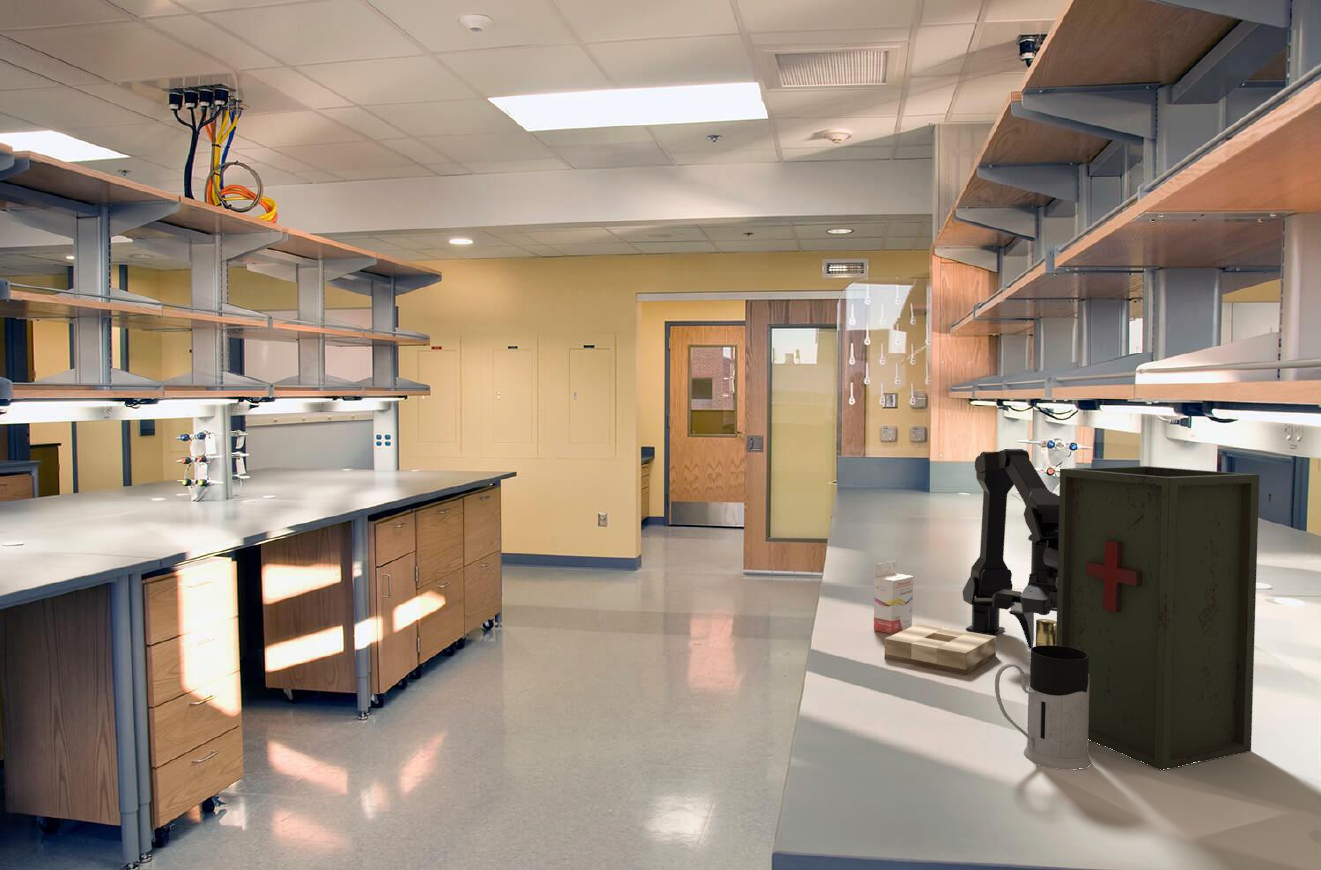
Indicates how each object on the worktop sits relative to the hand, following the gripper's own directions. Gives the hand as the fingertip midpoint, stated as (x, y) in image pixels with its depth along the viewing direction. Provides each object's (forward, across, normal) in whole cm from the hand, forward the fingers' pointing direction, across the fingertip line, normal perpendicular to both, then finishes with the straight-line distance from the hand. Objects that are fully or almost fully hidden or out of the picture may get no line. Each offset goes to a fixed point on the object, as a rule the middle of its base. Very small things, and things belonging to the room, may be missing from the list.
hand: (1045, 650), depth 171 cm
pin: (+3, 0, 0) cm, 3 cm away
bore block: (+3, -18, -6) cm, 19 cm away
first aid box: (+4, +23, -27) cm, 36 cm away
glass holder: (+4, +13, -46) cm, 48 cm away
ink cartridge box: (+4, -35, +9) cm, 36 cm away
